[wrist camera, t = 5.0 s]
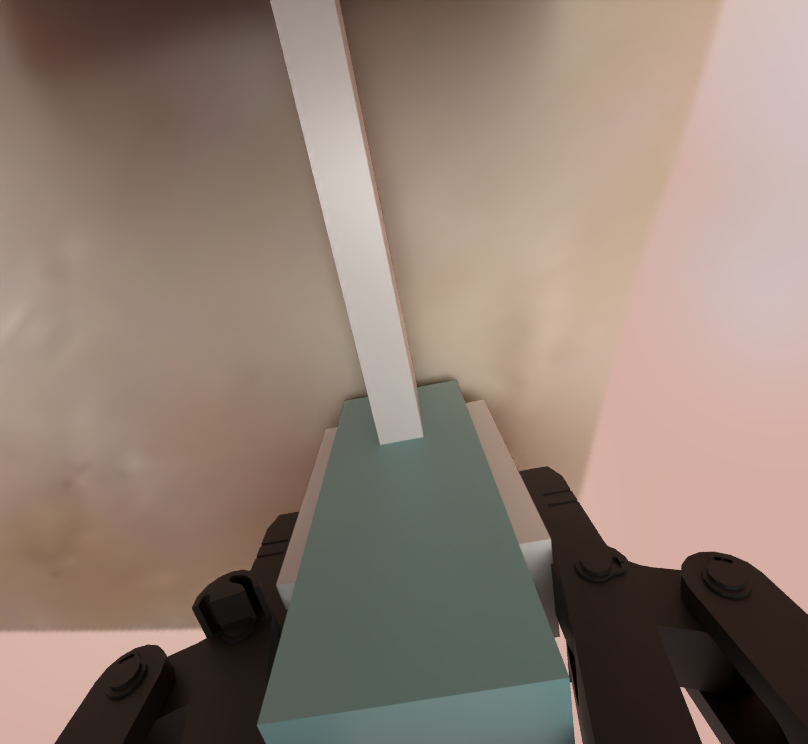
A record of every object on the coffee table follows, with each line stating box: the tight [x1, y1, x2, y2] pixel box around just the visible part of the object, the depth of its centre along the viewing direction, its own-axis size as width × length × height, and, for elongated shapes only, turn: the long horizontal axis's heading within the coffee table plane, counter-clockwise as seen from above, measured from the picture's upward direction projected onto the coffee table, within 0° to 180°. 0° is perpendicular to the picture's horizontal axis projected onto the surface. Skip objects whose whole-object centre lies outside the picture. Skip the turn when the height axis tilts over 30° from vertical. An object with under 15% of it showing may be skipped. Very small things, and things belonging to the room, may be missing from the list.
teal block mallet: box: [257, 0, 575, 744], centre depth 9 cm, size 4×16×10 cm, turn 11°
